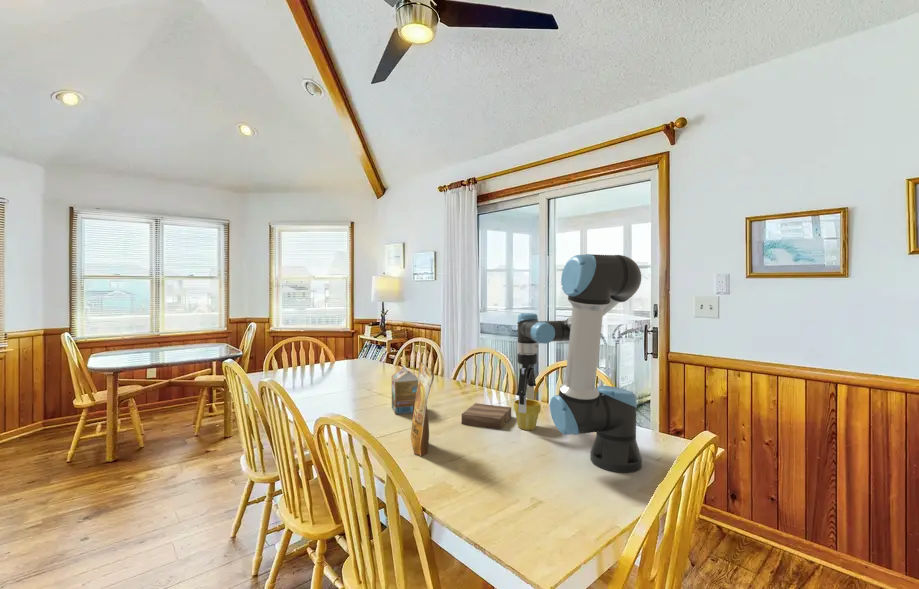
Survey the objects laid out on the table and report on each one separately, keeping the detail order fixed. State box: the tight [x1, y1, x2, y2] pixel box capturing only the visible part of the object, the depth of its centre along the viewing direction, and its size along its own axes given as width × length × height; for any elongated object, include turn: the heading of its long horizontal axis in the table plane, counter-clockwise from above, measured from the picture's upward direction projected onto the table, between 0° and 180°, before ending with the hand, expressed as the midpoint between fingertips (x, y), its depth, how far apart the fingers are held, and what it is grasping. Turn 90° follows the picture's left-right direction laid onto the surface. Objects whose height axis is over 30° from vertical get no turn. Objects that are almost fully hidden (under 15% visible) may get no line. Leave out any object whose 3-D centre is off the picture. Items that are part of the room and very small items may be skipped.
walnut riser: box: [461, 402, 512, 430], centre depth 172 cm, size 16×16×4 cm
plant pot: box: [513, 398, 542, 431], centre depth 164 cm, size 10×10×10 cm
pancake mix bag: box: [410, 361, 435, 457], centre depth 144 cm, size 7×19×28 cm, turn 11°
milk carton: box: [391, 364, 418, 415], centre depth 186 cm, size 11×11×19 cm
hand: (526, 407), depth 164 cm, fingers open, 13 cm apart
